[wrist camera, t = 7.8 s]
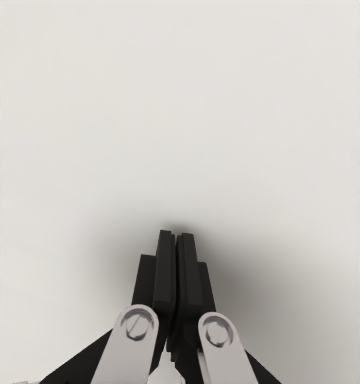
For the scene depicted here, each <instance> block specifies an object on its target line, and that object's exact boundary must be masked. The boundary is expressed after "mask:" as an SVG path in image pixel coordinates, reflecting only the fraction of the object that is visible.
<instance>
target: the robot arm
mask: <svg viewBox="0 0 360 384" xmlns="http://www.w3.org/2000/svg"><path fill="white" fill-rule="evenodd" d="M166 338H167V342H166ZM165 342H166V351H167V352H171V362H175V368H176V369H177V370H178V372H179V373H180V374H181V384H281V383H280V382H279V381H278V380H277V379H276V378H275V377H274V376H273V375H272V374H271V373H270V372H269V371H267V370H266V369H265V368H264V367H263V366H262V365H261V364H260V363H259V362H258V361H257V360H256V359H255V358H254V357H252V356H251V355H250V354H249V353H248V352H247V351H246V350H245V349H244V348H243V345H242V343H241V340H240V338H239V335H238V333H237V330H236V328H235V327H234V325H233V323H232V322H231V321H230V320H229V319H228V318H227V317H225V316H224V315H223V314H220V313H218V312H216V308H215V303H214V299H213V294H212V289H211V284H210V279H209V274H208V269H207V265H206V263H205V262H198V261H197V256H196V249H195V243H194V236H193V234H187V233H182V235H178V236H177V240H176V245H175V235H174V234H171V231H166V230H160V235H159V240H158V246H157V251H156V256H151V255H143V254H141V258H140V263H139V269H138V274H137V279H136V284H135V289H134V294H133V299H132V304H131V306H129V307H127V308H125V309H124V310H123V311H122V312H121V313H120V315H119V317H118V318H117V321H116V323H115V325H114V328H113V329H111V330H110V331H109V332H107V333H106V334H104V335H103V336H102V337H100V338H99V339H97V340H96V341H95V342H93V343H92V344H91V345H89V346H88V347H86V348H85V349H84V350H82V351H81V352H80V353H78V354H77V355H75V356H74V357H73V358H71V359H70V360H68V361H67V362H66V363H64V364H63V365H62V366H60V367H59V368H57V369H56V370H55V371H53V372H52V373H50V374H49V375H48V376H46V377H45V378H44V379H43V380H42V381H39V382H34V383H29V384H147V380H148V376H149V375H150V374H151V373H152V372H153V371H154V370H155V369H156V368H157V367H158V365H159V361H160V357H161V353H162V352H163V349H164V346H165ZM13 384H28V381H23V382H18V383H13Z"/></svg>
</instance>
